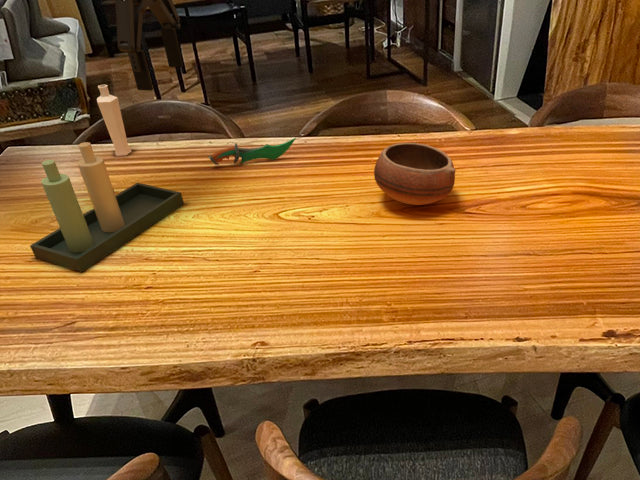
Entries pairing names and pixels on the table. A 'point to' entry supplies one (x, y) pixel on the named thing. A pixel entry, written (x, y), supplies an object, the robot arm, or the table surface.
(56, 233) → the tray
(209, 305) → the table surface
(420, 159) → the bowl
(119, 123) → the perfume bottle
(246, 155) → the knife
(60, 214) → the sage bottle
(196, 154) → the table surface
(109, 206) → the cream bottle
